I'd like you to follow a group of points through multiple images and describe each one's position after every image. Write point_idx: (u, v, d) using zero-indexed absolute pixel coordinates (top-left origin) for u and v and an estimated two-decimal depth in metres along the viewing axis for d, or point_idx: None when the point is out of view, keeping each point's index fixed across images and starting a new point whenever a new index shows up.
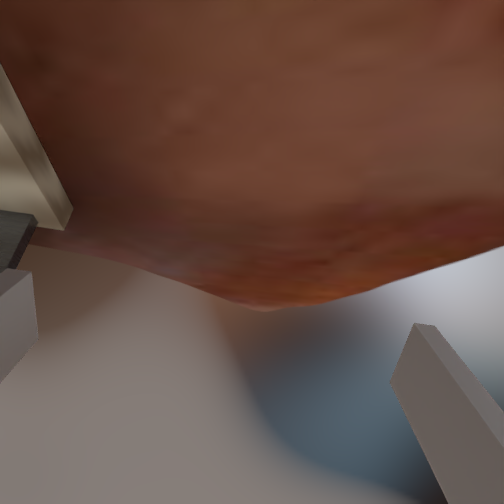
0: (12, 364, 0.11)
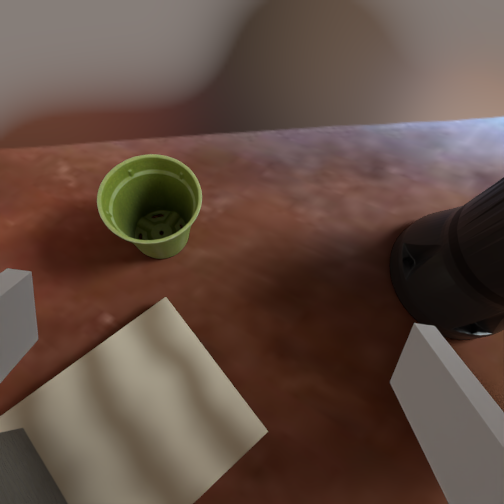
0: (12, 364, 0.11)
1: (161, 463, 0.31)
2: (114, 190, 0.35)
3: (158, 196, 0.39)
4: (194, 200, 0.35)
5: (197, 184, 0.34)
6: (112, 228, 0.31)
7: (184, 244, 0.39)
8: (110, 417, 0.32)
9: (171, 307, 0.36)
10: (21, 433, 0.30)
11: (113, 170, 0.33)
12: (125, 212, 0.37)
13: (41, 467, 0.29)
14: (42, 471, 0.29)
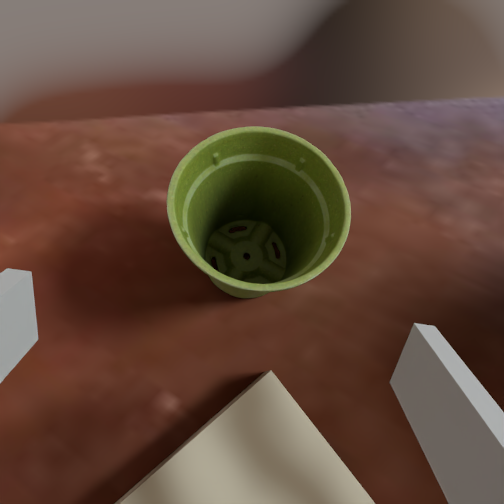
0: (12, 364, 0.11)
1: None
2: (189, 188, 0.20)
3: (244, 198, 0.25)
4: (325, 207, 0.20)
5: (339, 178, 0.19)
6: (199, 261, 0.17)
7: (286, 276, 0.25)
8: None
9: (282, 389, 0.21)
10: None
11: (192, 153, 0.19)
12: (198, 225, 0.22)
13: None
14: None
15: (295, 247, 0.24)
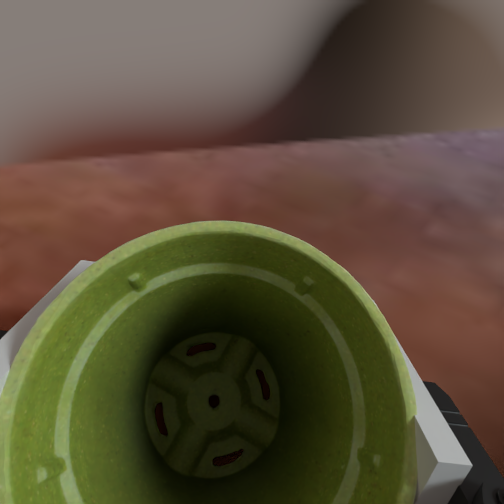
0: None
1: None
2: (79, 347, 0.10)
3: (208, 312, 0.14)
4: (354, 374, 0.10)
5: (388, 337, 0.09)
6: None
7: (280, 444, 0.14)
8: None
9: None
10: None
11: (70, 292, 0.09)
12: (119, 381, 0.12)
13: None
14: None
15: (295, 397, 0.14)
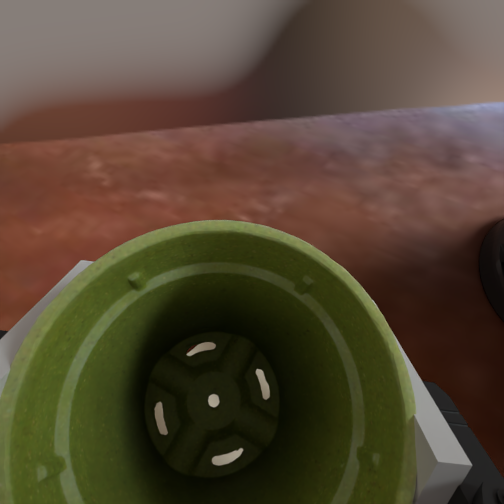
0: None
1: None
2: (79, 346, 0.10)
3: (208, 312, 0.15)
4: (353, 373, 0.10)
5: (387, 336, 0.09)
6: None
7: (280, 444, 0.14)
8: None
9: None
10: None
11: (70, 291, 0.09)
12: (119, 380, 0.12)
13: None
14: None
15: (294, 397, 0.14)
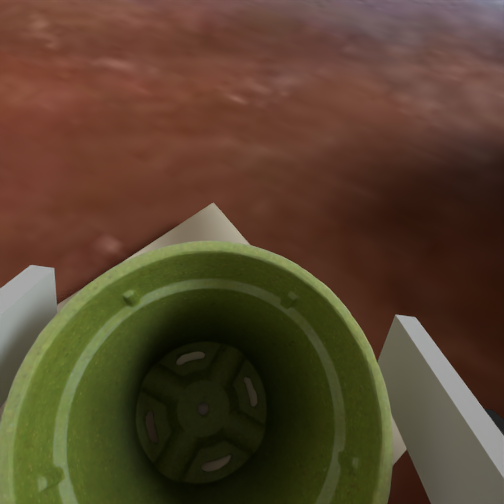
0: None
1: None
2: (76, 361, 0.10)
3: (198, 323, 0.15)
4: (335, 382, 0.11)
5: (365, 348, 0.10)
6: None
7: (267, 449, 0.15)
8: None
9: (224, 219, 0.20)
10: None
11: (69, 310, 0.09)
12: (112, 391, 0.13)
13: None
14: None
15: (280, 404, 0.15)
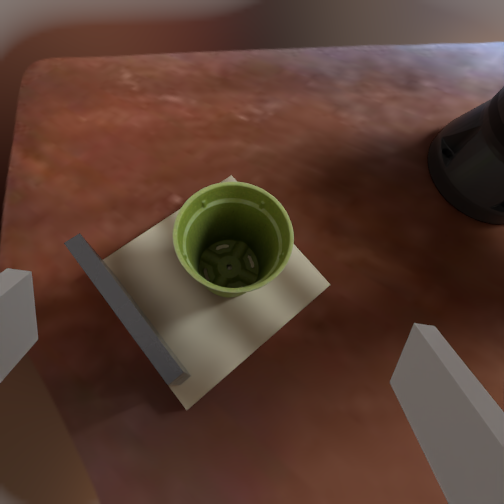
0: (12, 364, 0.11)
1: (238, 306, 0.34)
2: (186, 224, 0.29)
3: (226, 225, 0.34)
4: (279, 234, 0.30)
5: (286, 216, 0.29)
6: (195, 275, 0.26)
7: (258, 280, 0.34)
8: None
9: None
10: None
11: (187, 203, 0.28)
12: (193, 247, 0.32)
13: None
14: None
15: (263, 259, 0.34)
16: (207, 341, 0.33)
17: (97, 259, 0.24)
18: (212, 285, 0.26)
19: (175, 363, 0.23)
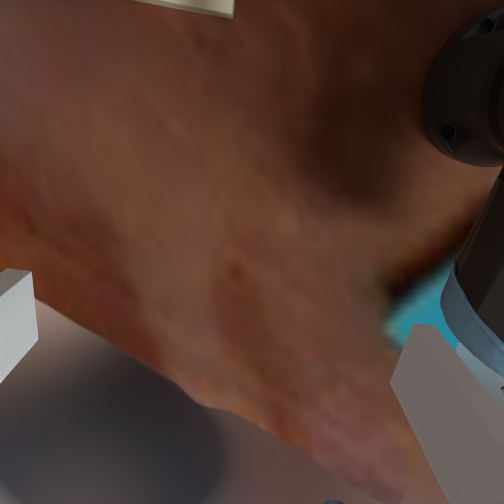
0: (12, 364, 0.11)
1: None
2: None
3: None
4: None
5: None
6: None
7: None
8: None
9: None
10: None
11: None
12: None
13: None
14: None
15: None
16: None
17: None
18: None
19: None
